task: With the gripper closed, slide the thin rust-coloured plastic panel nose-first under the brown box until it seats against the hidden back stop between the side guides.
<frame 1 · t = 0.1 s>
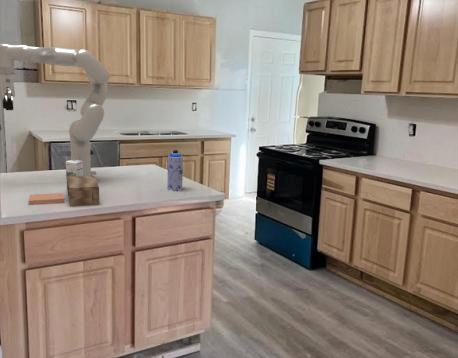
hand: (8, 109, 208), 37 cm above the countertop, tool pointing down, fingers open, 9 cm apart
brown box: (75, 199, 199), on the countertop
syrup box: (75, 190, 214), on the countertop
aerosol can: (174, 189, 225), on the countertop
panel: (47, 201, 195), on the countertop
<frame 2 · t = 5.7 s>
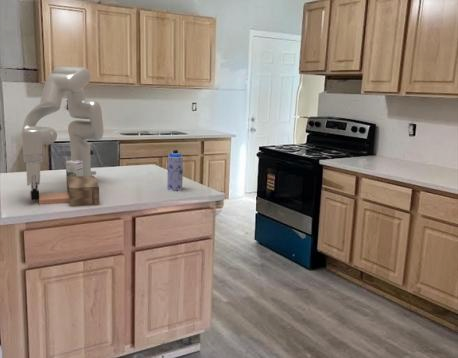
hand: (35, 199, 193), 1 cm above the countertop, tool pointing down, fingers closed
panel: (56, 201, 196), on the countertop, touching gripper
everything else where it was.
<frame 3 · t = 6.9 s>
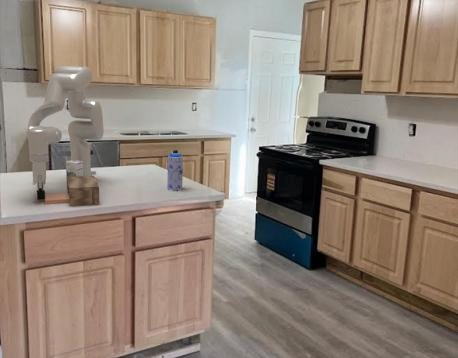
hand: (41, 199, 193), 1 cm above the countertop, tool pointing down, fingers closed
panel: (62, 201, 197), on the countertop
everything else where it was.
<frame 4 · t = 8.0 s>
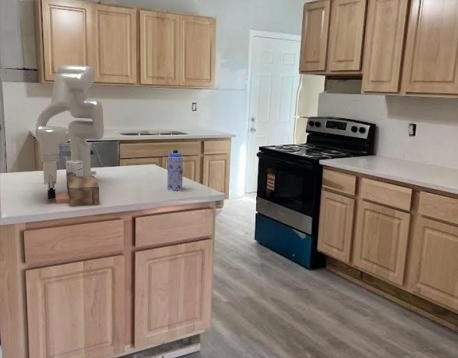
hand: (51, 198, 195), 1 cm above the countertop, tool pointing down, fingers closed
panel: (72, 200, 198), on the countertop, touching gripper
everything else where it was.
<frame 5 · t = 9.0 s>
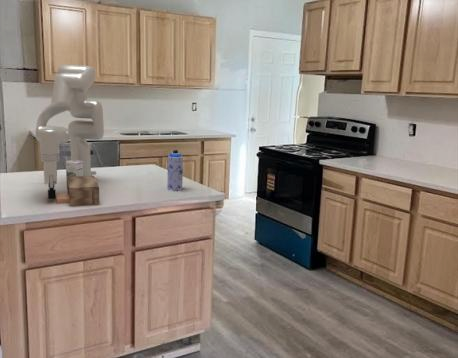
hand: (52, 198, 195), 1 cm above the countertop, tool pointing down, fingers closed
panel: (73, 200, 198), on the countertop
everything else where it was.
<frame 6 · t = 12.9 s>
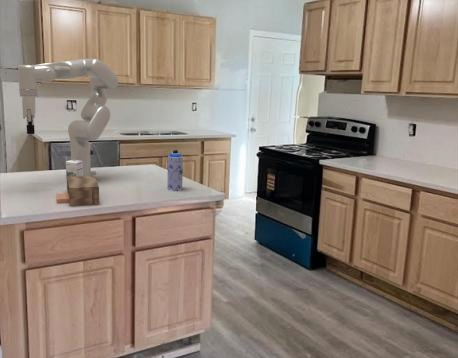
hand: (30, 133, 204), 27 cm above the countertop, tool pointing down, fingers closed
nothing on the countertop moved.
at the end: panel 0.5 cm from the target spot on the brown box, point -0.5 cm above the brown box's base; panel tilted 0°; panel moved 11.0 cm from its start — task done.
